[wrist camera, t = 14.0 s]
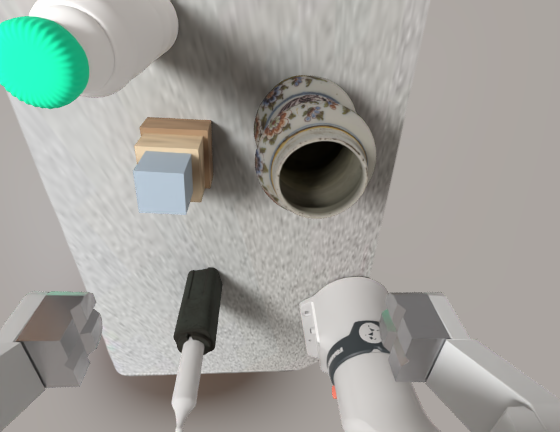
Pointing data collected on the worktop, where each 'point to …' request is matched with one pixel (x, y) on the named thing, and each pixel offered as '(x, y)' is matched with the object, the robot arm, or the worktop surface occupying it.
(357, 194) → the apothecary jar
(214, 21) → the worktop surface
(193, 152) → the top block
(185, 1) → the worktop surface
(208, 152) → the bottom block
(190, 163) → the blue cube
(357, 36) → the worktop surface
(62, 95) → the water bottle
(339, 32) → the worktop surface
